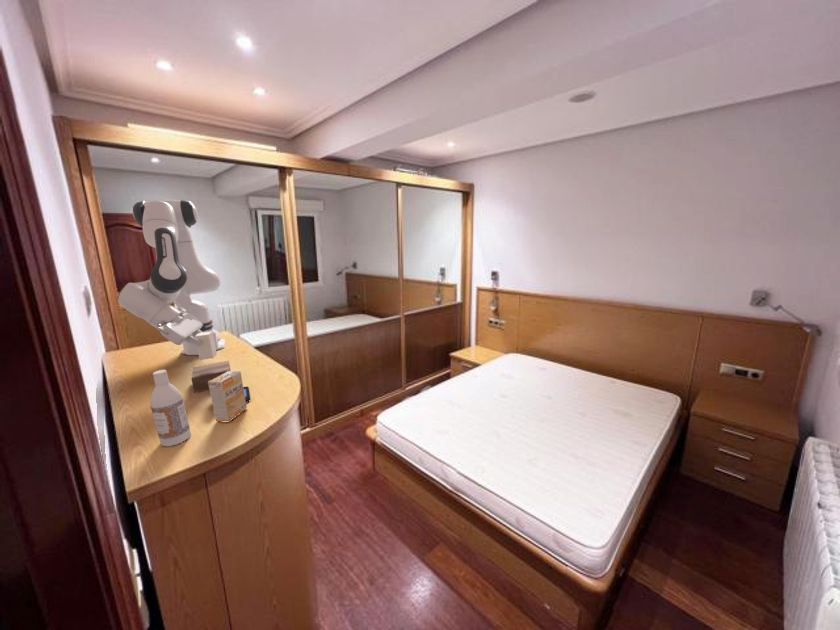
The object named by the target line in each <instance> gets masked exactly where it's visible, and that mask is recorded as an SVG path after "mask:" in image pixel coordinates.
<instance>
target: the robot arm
mask: <svg viewBox="0 0 840 630" xmlns="http://www.w3.org/2000/svg"><path fill="white" fill-rule="evenodd" d="M198 214H199V213H198V209H197V208H196V206H195V204H194V203H193V202H191V201H190V200H187V199H181V200H178V199H162V200H161V199H158V200H157V199H156V200H149V201H145V200H143V201H142V200H141V201H138V202H136V203H135V204H134V205H133V206H132V216H133V219H134V220H135V222H136V224H137V225H139V226H140V227H142V233H143V237H144V240H145V243H146V244H147V245H149V246H150V247H152V248H155V258H156V262H155V264H154V266H153V267H152V269H151V271H150V278H149V279H147V280H144V281H140V282H128V283H126V284H125V285H124V286H123V287H122V288H121V289H120V290H119V292H118V295H117V298H116V299H117V302H118V304H119V305H120V306H121V307H123V308H124V309H125V310H126V311H128V312H130V313H131V314H133V316H136V317H137V318H140V319H143V320H144V321H146V322H147V323H148V324H149V325H150V326H152V327H154V328H155V329H157V330H158V331H159V333H160V334H161V336H163V337H164V338H165V339H166V340H169V341H170V342H171V343H172V344H174V345H176V346H181V345H182V348H183V349H182V350H181V351H180V354H182V355H187V356H199V354H198V350H197V346H201V344H202V343H203V341H201V340H200V339H199V340H198V339H196V338H195V335H197V334H198V333H202V332H213V337H214V342H215V347H216V351H219V350H221V349H224V348H225V346H226V344H225V343H226V338H221V337H220V332H219V331H218V330H217V329H215V328H214V324H213V322H214V321H213V319H211V318H210V314H209V308H208V306H207V304H205V303H204V302H202V301H199V300H195V299H194V298H193V297H192V296H191V295H200V294H207V293H211V292H214V291H218V289H219V287H220V286H221V279H220V277H219V275H218V274H217V272H216V271H214V270H212V269H210V268H209V267H207V266H206V265H205V264H203V263H202V261H201V260H200V258H199V257H198V254H197V252H196V249H195V246H194V245H195V244H194V242H193V241H194V240H193V237H192V234H191V230H190V228H192V226H194V225H195V224H196V223H197V222H198V217H199V215H198ZM171 303H174V305H175V306H173V305H171Z"/></svg>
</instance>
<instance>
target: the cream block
mask: <svg viewBox="0 0 840 630" xmlns="http://www.w3.org/2000/svg"><path fill="white" fill-rule="evenodd" d="M195 338H196V339H198V340H199V339H200V340H201V341H203V343H202V344H201V346H197V350H198V354H199V355H198V358H199V360H200V361H202V360H208V359H214V358H215V357H216V356H217V353H218V352H217V350H216V347H215V342H214V337H213V332H202V333H198V334H197V335H195Z"/></svg>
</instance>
